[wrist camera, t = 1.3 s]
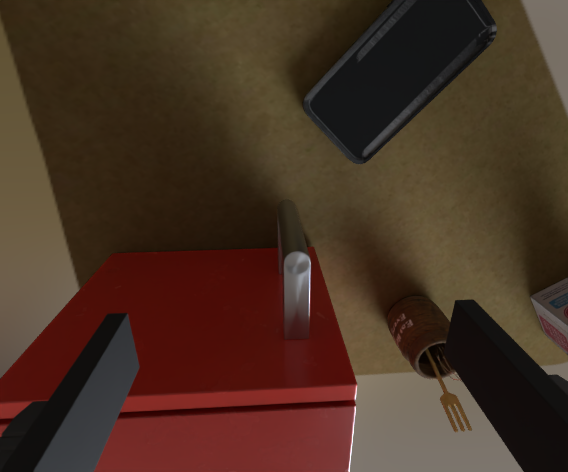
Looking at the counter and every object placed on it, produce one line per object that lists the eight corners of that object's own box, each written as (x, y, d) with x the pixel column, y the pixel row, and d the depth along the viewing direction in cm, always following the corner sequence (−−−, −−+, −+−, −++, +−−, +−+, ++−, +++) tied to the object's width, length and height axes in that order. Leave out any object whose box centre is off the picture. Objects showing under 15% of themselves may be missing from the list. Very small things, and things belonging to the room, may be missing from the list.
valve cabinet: (115, 265, 35) (-16, 426, 18) (313, 258, 36) (356, 405, 19) (137, 357, 40) (47, 551, 23) (310, 349, 41) (343, 529, 24)
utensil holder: (439, 290, 38) (510, 373, 27) (434, 335, 41) (497, 427, 30) (386, 296, 38) (435, 381, 27) (384, 341, 41) (429, 435, 30)
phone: (502, 33, 27) (359, 169, 31) (493, 35, 28) (356, 166, 32) (445, -56, 25) (297, 103, 29) (438, -51, 26) (296, 103, 30)
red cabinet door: (98, 190, 32) (-75, 301, 15) (315, 185, 33) (367, 285, 16) (114, 263, 35) (-16, 420, 18) (313, 256, 36) (356, 400, 19)
